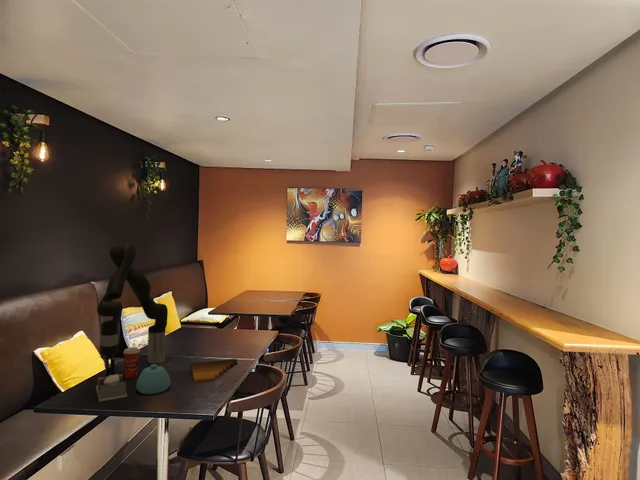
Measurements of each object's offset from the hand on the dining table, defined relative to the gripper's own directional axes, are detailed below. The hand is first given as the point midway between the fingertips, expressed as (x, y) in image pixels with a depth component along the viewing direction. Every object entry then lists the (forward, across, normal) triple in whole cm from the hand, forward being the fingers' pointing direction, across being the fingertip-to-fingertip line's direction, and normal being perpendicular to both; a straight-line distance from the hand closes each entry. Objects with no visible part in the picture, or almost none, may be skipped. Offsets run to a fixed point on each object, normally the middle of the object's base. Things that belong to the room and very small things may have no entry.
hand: (108, 379), depth 193 cm
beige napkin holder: (+3, +7, +1) cm, 8 cm away
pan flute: (+4, +4, +51) cm, 51 cm away
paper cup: (+4, -11, +11) cm, 16 cm away
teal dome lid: (+4, +13, +18) cm, 22 cm away
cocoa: (+1, +8, +1) cm, 8 cm away
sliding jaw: (+2, +4, +1) cm, 4 cm away
